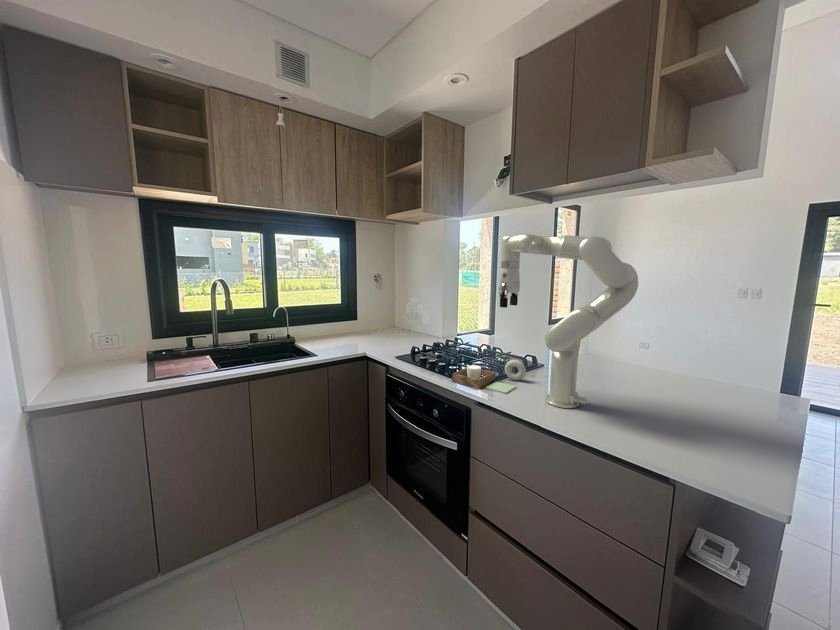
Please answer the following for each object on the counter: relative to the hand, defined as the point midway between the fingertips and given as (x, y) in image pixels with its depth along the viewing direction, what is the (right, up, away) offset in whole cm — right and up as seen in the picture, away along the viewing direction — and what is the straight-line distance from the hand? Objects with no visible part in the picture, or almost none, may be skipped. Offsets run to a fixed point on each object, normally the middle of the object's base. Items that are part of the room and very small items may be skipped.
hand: (508, 306), depth 144 cm
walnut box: (-13, -35, +15) cm, 40 cm away
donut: (+7, -35, +16) cm, 39 cm away
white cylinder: (-13, -35, +15) cm, 40 cm away
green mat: (-2, -36, +6) cm, 37 cm away
